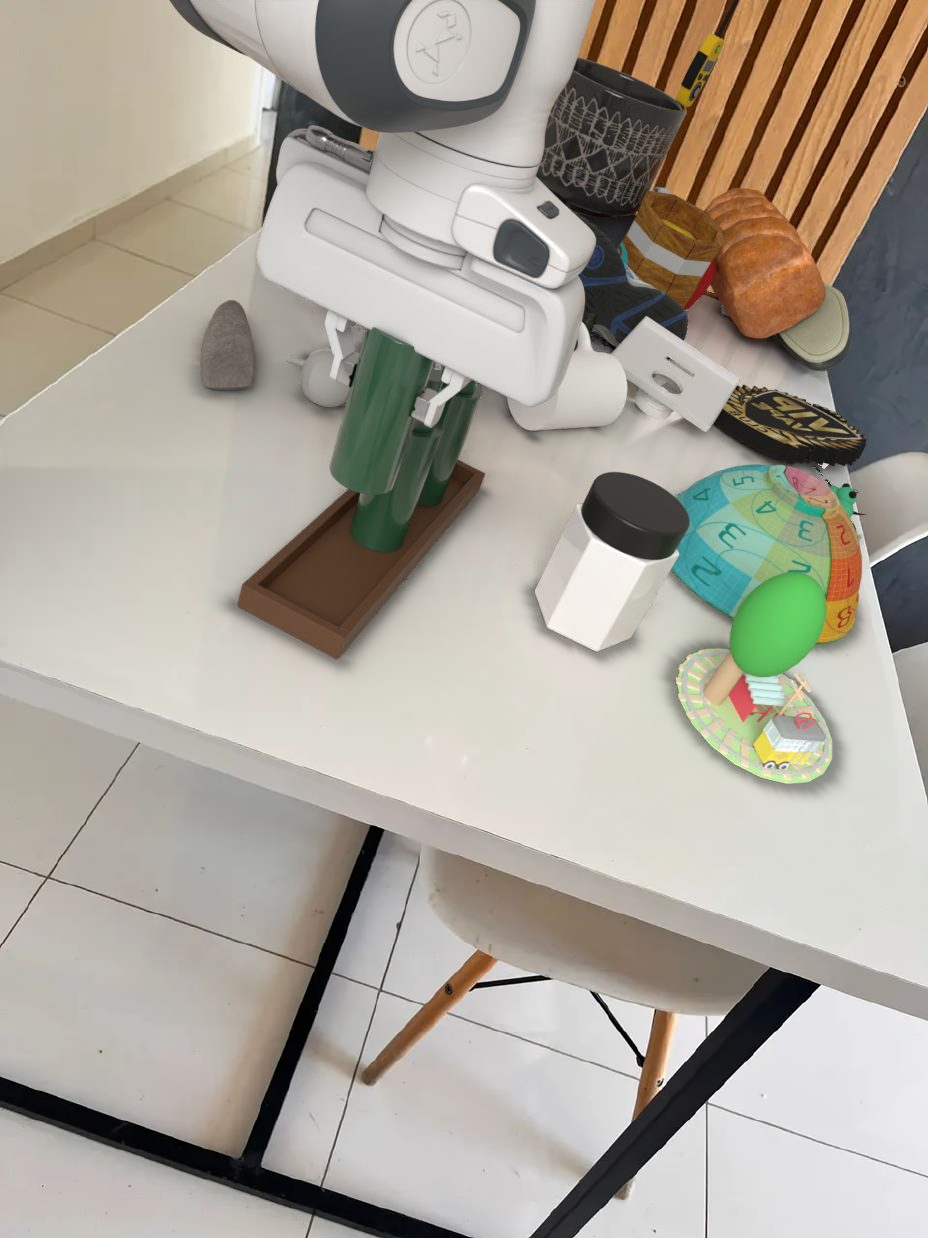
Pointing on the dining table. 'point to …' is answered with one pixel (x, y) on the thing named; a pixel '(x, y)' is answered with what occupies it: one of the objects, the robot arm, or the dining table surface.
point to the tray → (345, 569)
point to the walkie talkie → (702, 64)
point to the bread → (762, 266)
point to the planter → (607, 144)
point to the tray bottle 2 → (450, 441)
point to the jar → (611, 560)
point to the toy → (845, 497)
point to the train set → (763, 684)
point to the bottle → (379, 413)
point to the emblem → (789, 427)
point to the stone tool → (228, 349)
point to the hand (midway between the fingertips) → (384, 400)
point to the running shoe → (624, 295)
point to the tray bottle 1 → (399, 490)
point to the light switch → (673, 375)
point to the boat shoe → (820, 334)
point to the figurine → (320, 379)
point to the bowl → (769, 539)
